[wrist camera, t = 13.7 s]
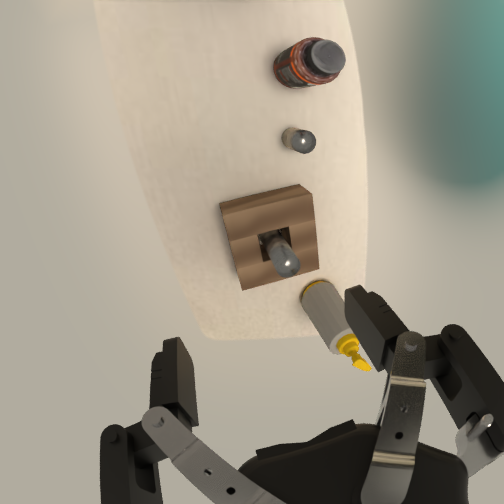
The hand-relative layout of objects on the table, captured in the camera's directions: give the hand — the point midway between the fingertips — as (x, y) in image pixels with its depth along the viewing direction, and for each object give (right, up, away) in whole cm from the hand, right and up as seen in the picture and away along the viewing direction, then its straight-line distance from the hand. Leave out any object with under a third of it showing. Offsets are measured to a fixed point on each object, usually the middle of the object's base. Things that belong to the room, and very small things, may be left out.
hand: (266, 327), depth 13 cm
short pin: (+5, +19, +25) cm, 32 cm away
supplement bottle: (+5, +28, +20) cm, 35 cm away
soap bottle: (+11, -4, +39) cm, 40 cm away
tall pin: (+2, +7, +31) cm, 31 cm away
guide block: (+2, +7, +31) cm, 31 cm away
